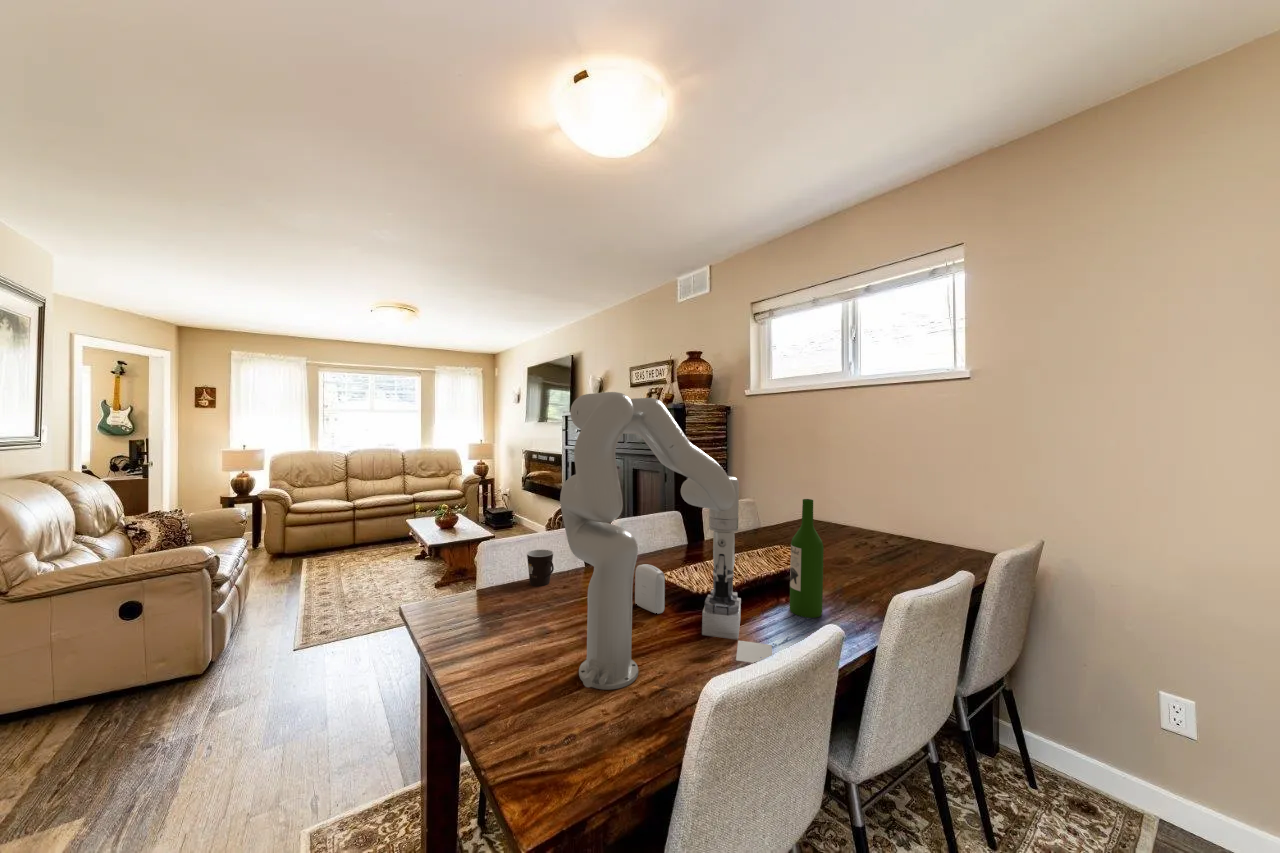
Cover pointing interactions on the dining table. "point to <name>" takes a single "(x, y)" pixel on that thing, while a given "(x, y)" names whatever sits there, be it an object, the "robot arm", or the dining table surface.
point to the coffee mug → (540, 567)
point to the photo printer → (650, 588)
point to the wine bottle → (806, 567)
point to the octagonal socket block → (721, 617)
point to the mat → (752, 651)
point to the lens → (730, 587)
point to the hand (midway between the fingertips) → (722, 592)
